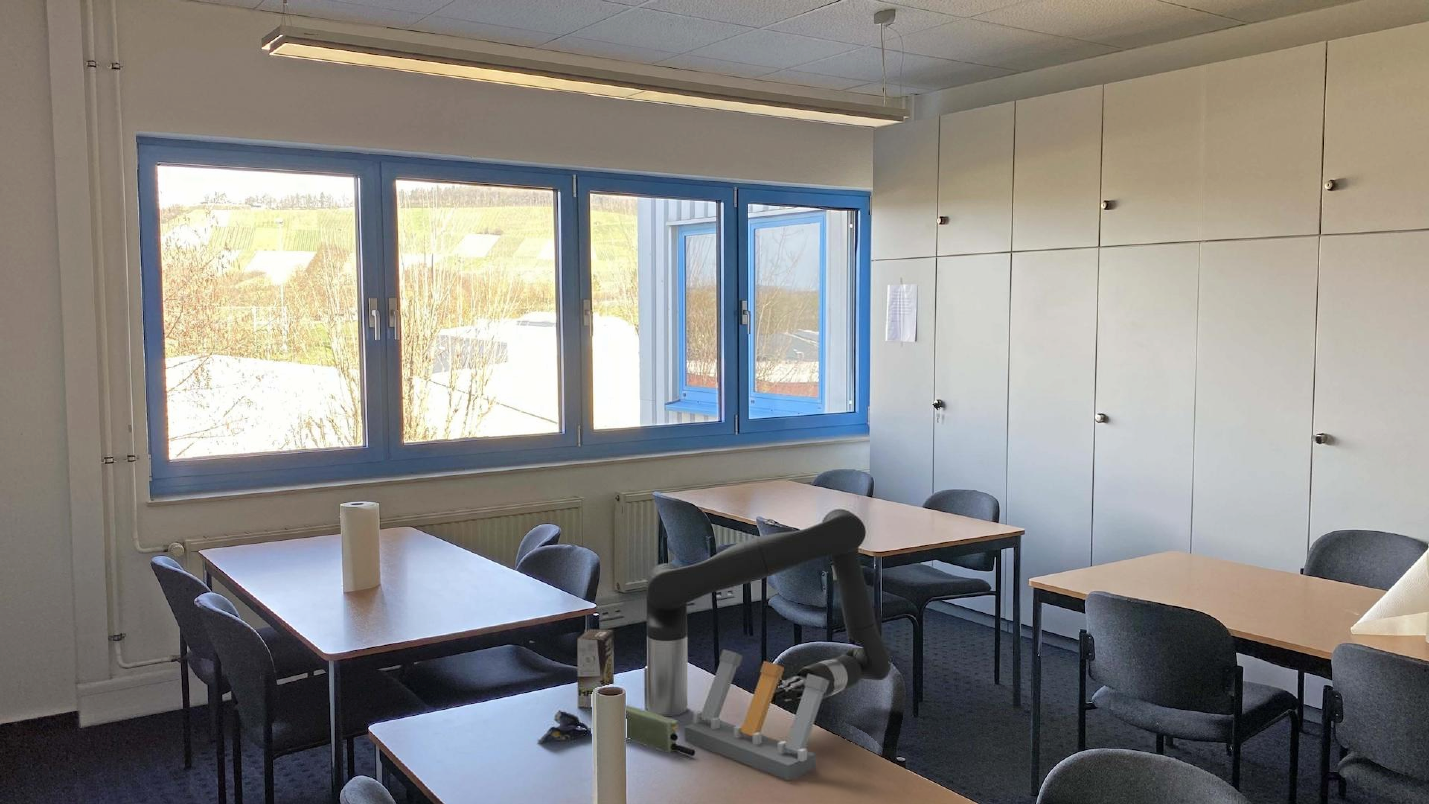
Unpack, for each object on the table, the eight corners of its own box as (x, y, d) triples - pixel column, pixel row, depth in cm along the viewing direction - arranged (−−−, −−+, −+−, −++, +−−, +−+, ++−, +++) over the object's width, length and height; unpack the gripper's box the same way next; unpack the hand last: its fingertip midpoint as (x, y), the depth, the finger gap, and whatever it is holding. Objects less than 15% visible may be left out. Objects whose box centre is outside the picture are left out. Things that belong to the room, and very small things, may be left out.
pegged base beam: (682, 739, 223) (682, 716, 223) (709, 730, 229) (709, 707, 229) (790, 781, 202) (790, 756, 202) (817, 769, 208) (817, 744, 207)
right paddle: (783, 746, 208) (807, 673, 212) (789, 749, 209) (814, 676, 214) (798, 752, 205) (823, 678, 210) (804, 755, 206) (829, 681, 211)
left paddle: (698, 716, 225) (723, 649, 229) (704, 719, 226) (729, 652, 231) (711, 721, 222) (736, 652, 227) (718, 724, 223) (742, 656, 228)
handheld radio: (612, 728, 231) (699, 756, 215) (601, 733, 228) (688, 762, 213) (611, 698, 230) (698, 724, 215) (600, 703, 228) (687, 729, 212)
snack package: (539, 730, 231) (535, 749, 219) (544, 701, 231) (540, 718, 219) (594, 737, 232) (592, 756, 220) (598, 708, 232) (597, 726, 220)
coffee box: (603, 709, 242) (602, 639, 241) (576, 707, 244) (576, 638, 243) (615, 696, 251) (614, 629, 250) (589, 694, 253) (588, 627, 252)
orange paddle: (739, 731, 216) (763, 660, 221) (745, 733, 218) (770, 664, 222) (753, 736, 214) (778, 665, 218) (759, 739, 215) (784, 668, 220)
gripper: (799, 656, 236) (746, 673, 224) (846, 669, 227) (793, 688, 215) (799, 689, 237) (746, 708, 225) (846, 703, 227) (793, 724, 215)
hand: (769, 698), depth 220 cm, fingers closed
